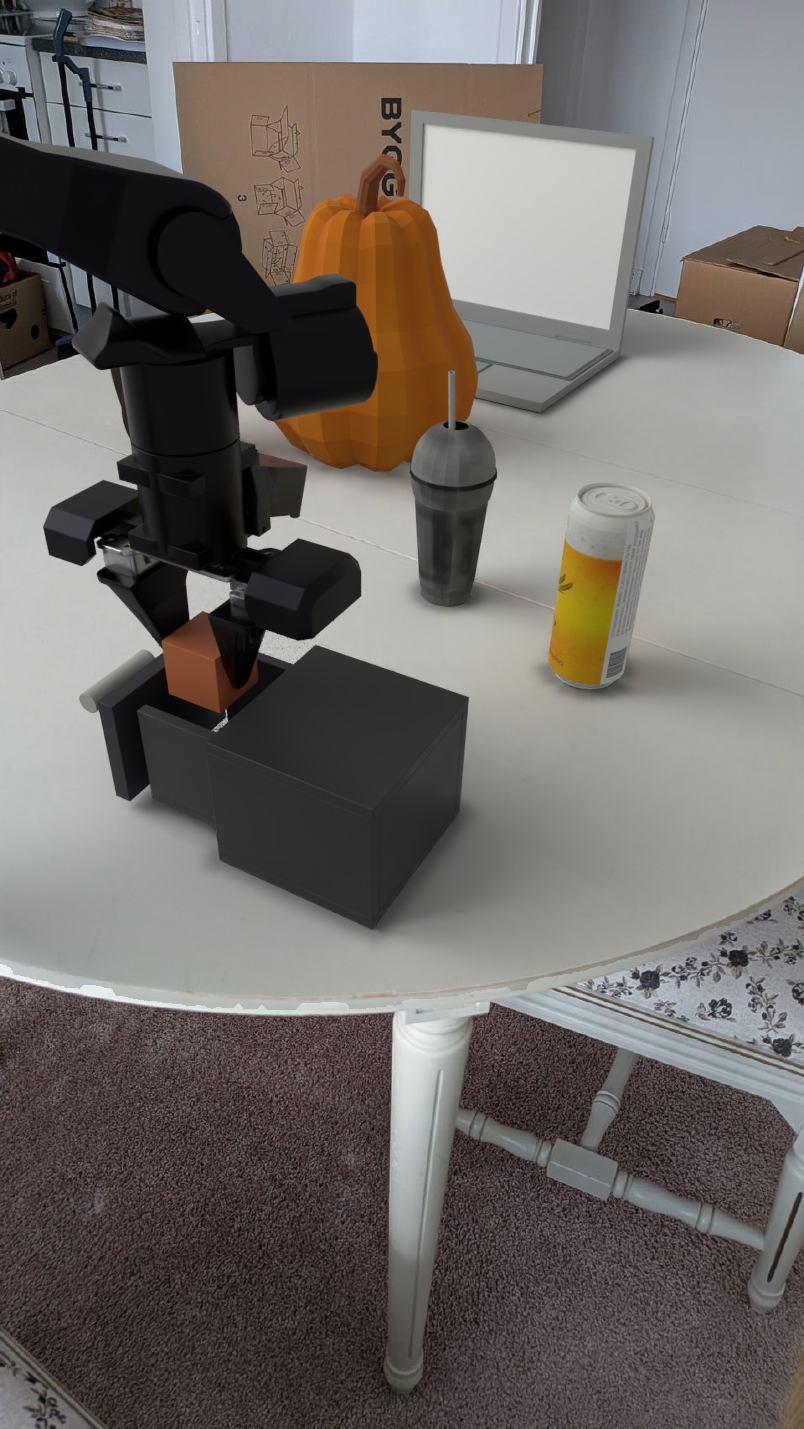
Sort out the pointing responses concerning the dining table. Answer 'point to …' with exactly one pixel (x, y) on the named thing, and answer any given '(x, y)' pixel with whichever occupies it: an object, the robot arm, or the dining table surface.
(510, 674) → the dining table surface
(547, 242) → the laptop
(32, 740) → the dining table surface
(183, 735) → the drawer
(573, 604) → the beer can
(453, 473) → the beverage cup
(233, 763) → the cabinet
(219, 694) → the block
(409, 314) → the decorative pumpkin
